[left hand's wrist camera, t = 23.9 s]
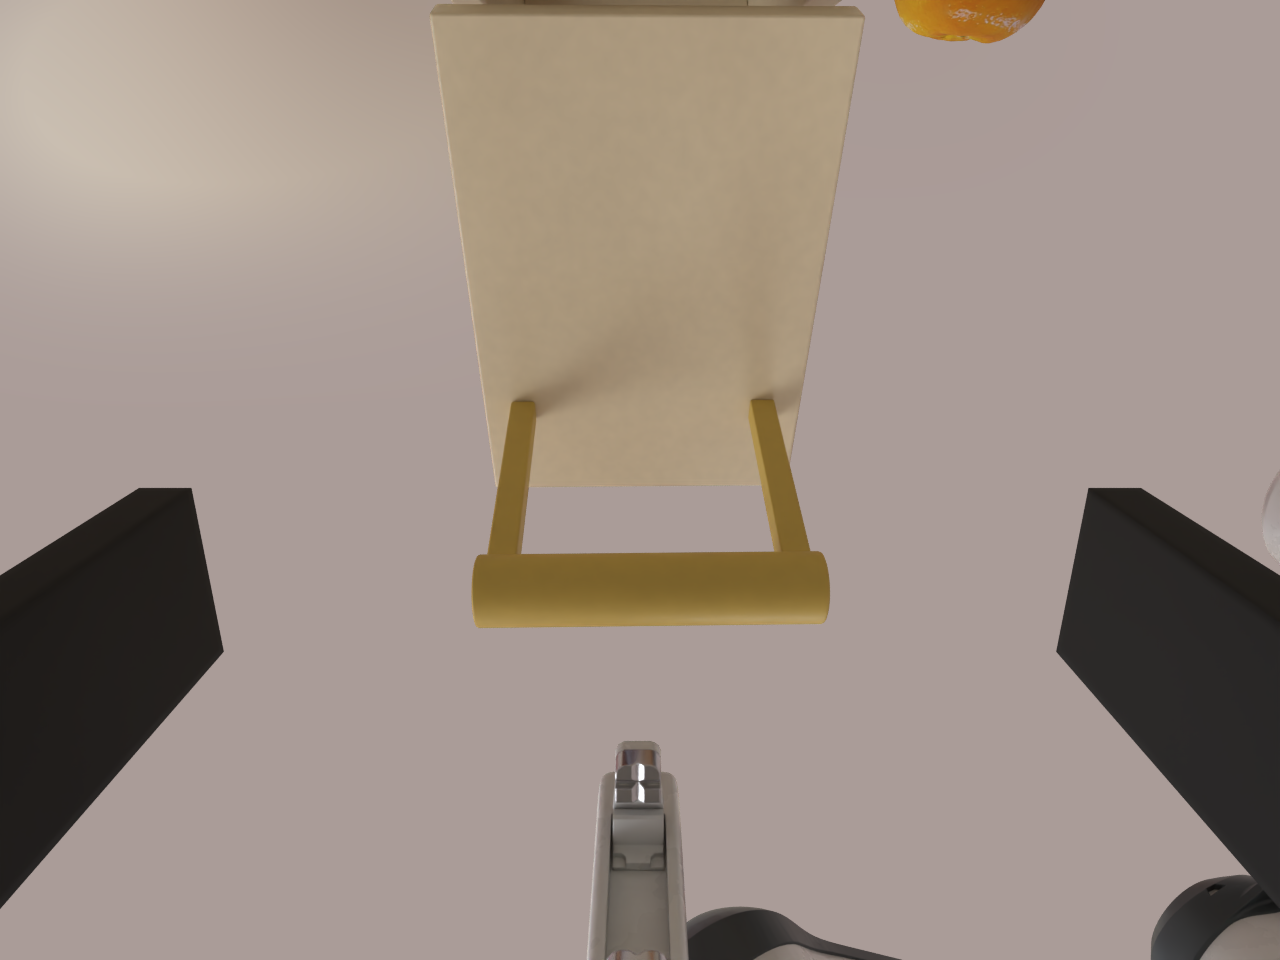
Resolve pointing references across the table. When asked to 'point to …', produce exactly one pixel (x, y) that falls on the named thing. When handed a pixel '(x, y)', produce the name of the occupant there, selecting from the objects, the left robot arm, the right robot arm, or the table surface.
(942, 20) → the fruit
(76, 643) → the left robot arm
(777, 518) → the lid
